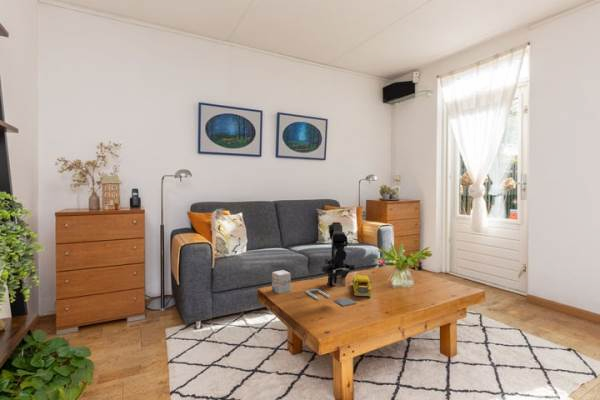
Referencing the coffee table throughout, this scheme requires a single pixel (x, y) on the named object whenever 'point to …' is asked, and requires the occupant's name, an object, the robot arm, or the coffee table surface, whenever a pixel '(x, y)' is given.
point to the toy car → (361, 285)
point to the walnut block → (339, 282)
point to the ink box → (281, 281)
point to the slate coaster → (345, 301)
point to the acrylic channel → (316, 292)
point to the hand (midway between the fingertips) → (338, 283)
